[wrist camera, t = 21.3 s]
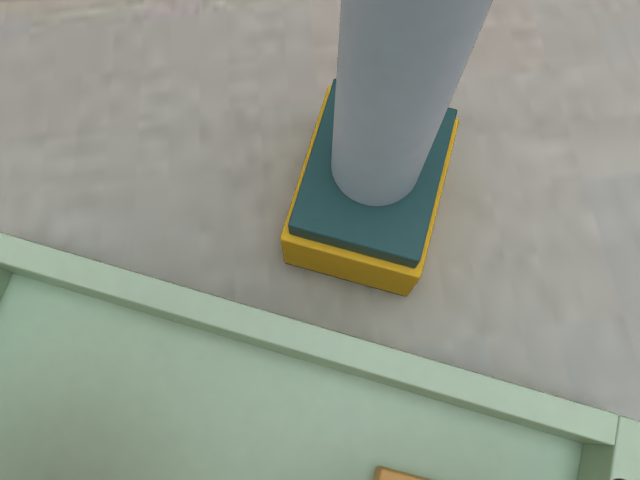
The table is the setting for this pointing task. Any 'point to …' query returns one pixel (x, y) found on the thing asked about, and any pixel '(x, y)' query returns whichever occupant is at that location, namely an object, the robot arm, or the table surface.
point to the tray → (253, 393)
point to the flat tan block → (394, 474)
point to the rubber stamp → (382, 142)
